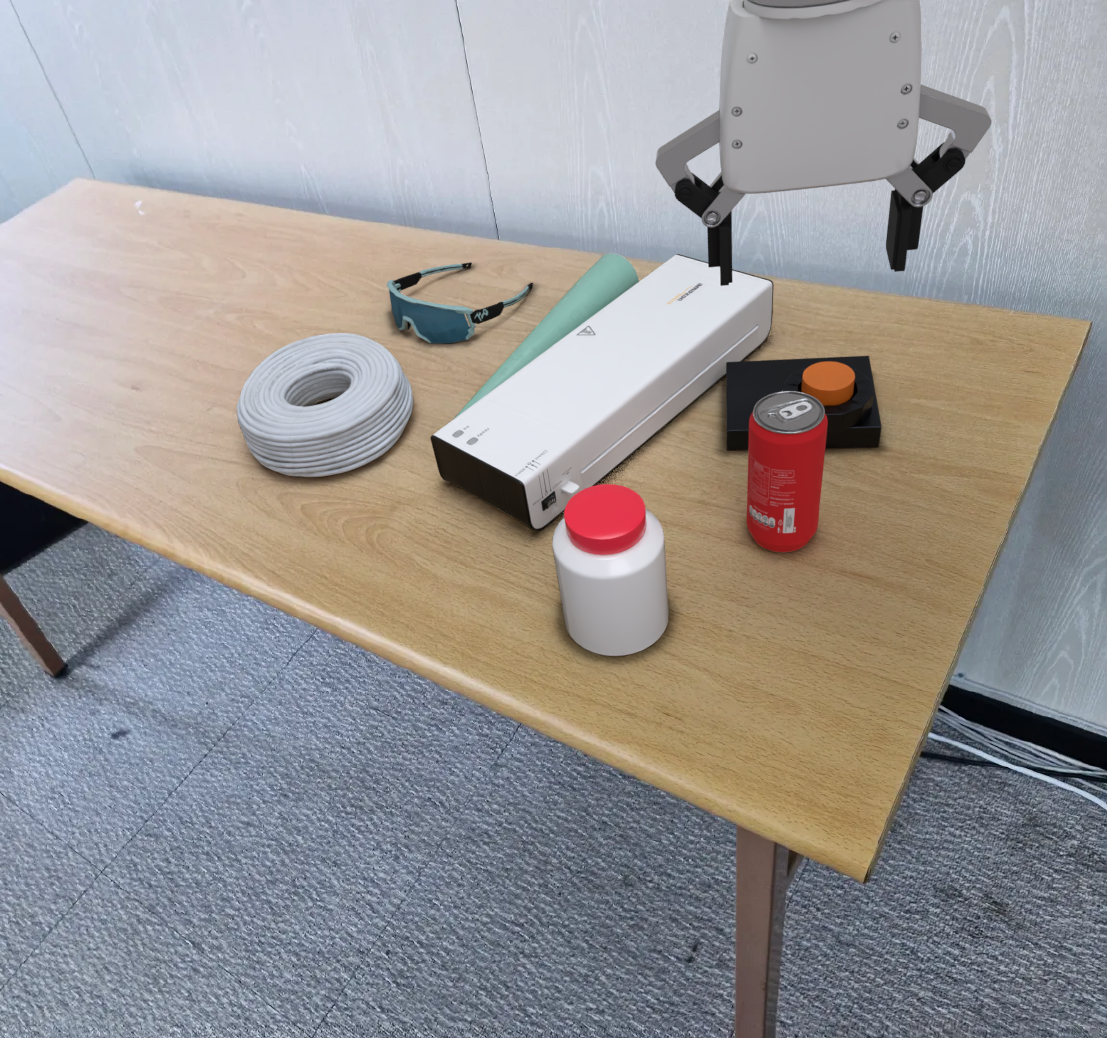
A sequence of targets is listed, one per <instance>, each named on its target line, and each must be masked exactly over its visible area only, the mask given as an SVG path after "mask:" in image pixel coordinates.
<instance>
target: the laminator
mask: <svg viewBox="0 0 1107 1038" xmlns="http://www.w3.org/2000/svg"><path fill="white" fill-rule="evenodd" d="M774 287H775V286H774V281H773V280H771V279H770V278H765V277H762V276H757V275H755V274H751V273H747V272H743V271H740V270H737V269H734V268H732V283H729V285H725V286H721V285H720V267H708V261H705V260H701V259H697V258H694V257H691V256H686V255H683V254H680V253H676V254H674V255H673V256H672V257H670V258H669V259H667V260H666V261H665V262H663V263H662V264H661V265H659V266H658V267H657V268H655V269H654V270H652V271H651V272H650V273H649V274H647V275H646V276H645V277H643V278H642V279H640V280H639V282H638V283H637V284H635V285H634V286H633V287H631V288H630V289H628V290H627V291H626V292H624V293H623V294H622V295H620V296H619V297H618V298H616V299H615V300H614V301H612V302H611V303H610V304H608V305H607V306H606V307H604V308H603V309H602V310H600V311H599V312H597V313H596V314H595V315H593V316H592V317H591V318H589V319H588V320H587V321H585V322H584V323H583V324H581V325H580V326H579V327H577V328H576V329H575V330H573V331H572V332H571V333H569V334H568V335H566V336H565V337H564V338H562V339H561V340H560V341H558V342H557V343H556V344H554V345H553V346H552V347H550V348H549V349H548V350H546V351H545V352H544V353H542V354H541V355H540V356H538V357H537V358H535V359H534V360H533V361H531V362H530V363H529V364H527V365H526V366H525V367H523V368H522V369H521V370H519V371H518V372H517V373H515V374H514V375H513V376H511V377H510V378H509V379H507V380H506V381H504V382H503V383H502V384H500V385H499V386H498V387H496V388H495V389H494V390H492V391H491V392H490V393H488V394H487V395H486V396H484V397H483V398H482V399H480V400H479V401H478V402H476V403H475V404H473V405H472V406H471V407H469V408H468V409H467V410H465V411H464V412H463V413H461V414H460V415H459V416H457V417H456V416H455V417H456V418H455V417H454V418H455V419H454V418H453V419H452V420H451V421H449V422H448V423H446V424H445V425H444V426H442V427H441V428H440V429H438V430H437V431H436V432H434V433H433V434H431V435H430V436H429V437H430V443H431V447H432V451H433V454H434V458H435V462H436V466H437V469H438V473H439V476H440V478H441V479H442V480H443V481H445V482H449V483H451V484H453V485H454V486H456V487H458V488H460V489H462V490H463V491H465V492H467V493H468V494H470V495H472V496H473V497H476V498H477V499H479V500H481V501H483V502H485V503H486V504H488V505H490V506H492V507H494V508H495V509H497V510H499V511H500V512H502V513H503V514H505V515H508V516H509V517H511V518H513V519H515V521H518V522H520V523H522V524H523V525H525V526H527V527H528V528H529V529H531V530H532V531H533V532H539V531H542V530H543V529H545V528H546V527H548V526H549V525H550V524H552V522H554V521H555V520H556V519H557V518H559V517H560V516H561V515H562V514H564V511H565V507H566V505H567V503H568V501H569V500H570V499H571V498H572V497H573V496H574V495H575V494H577V493H578V492H580V491H582V490H584V489H586V488H589V487H591V486H596V485H598V484H599V483H601V482H602V480H604V479H605V478H606V477H607V476H608V475H610V474H611V473H612V472H613V471H614V470H615V469H616V468H618V467H619V466H620V465H622V463H624V462H625V461H626V460H627V459H629V457H631V456H633V454H635V453H636V452H637V451H638V450H639V449H640V448H642V446H644V445H645V444H646V443H648V442H649V441H650V440H651V439H652V438H653V437H655V436H656V435H657V434H658V433H659V432H661V431H662V430H663V429H664V428H665V427H666V426H668V425H669V424H670V423H671V422H672V421H673V420H674V419H677V417H679V415H680V414H682V413H684V411H685V410H686V409H688V408H689V407H690V406H691V405H693V403H695V402H696V401H697V400H699V398H701V397H702V396H703V395H704V394H705V393H707V392H708V391H709V390H710V389H711V388H713V387H714V386H715V385H716V384H717V383H719V382H720V381H721V380H722V379H723V378H724V377H726V363H727V362H738V361H745V360H746V359H747V358H748V357H749V356H751V355H752V354H753V353H754V352H755V351H756V350H758V349H760V347H761V346H762V345H763V344H764V343H765V342H766V341H767V339H768V338H769V335H770V334H771V330H772V326H773V315H774V314H773V312H774V311H773V310H774V289H775V288H774Z"/></svg>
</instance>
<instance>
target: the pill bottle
mask: <svg viewBox="0 0 1107 1038" xmlns="http://www.w3.org/2000/svg"><path fill="white" fill-rule="evenodd" d="M551 540H552V541H551V543H552V545H551V548H552V554H553V560H554V567H555V573H556V577H557V586H558V590H559V596H560V603H561V609H562V615H563V621H564V624H565V629H566V631H567V633H568V635H569V636H570V638H571V639H572V640H573V641H574V642H575V643H576V644H577V645H579V646H580V647H581V648H582V649H585V650H587V651H589V652H591V653H594V654H598V655H602V656H610V657H618V656H619V657H620V656H622V657H623V656H626V655H633V654H636V653H639V652H641V651H643V650H646V649H647V648H649V647H650V646H652V645H653V644H655V643H656V642H657V641H658V640H659V639H660V638H661V636H662V635H663V634H664V633H665V631H666V628H667V627H668V623H669V617H670V613H669V595H668V594H669V593H668V578H667V576H668V575H667V559H666V558H667V557H666V541H665V540H666V539H665V533H664V529H663V526H662V524H661V521H659V519H658V517H657V516H656V515H655V514H653V512H651V511H650V510H649V509H648V508H646V504H645V501H644V499H643V498H642V496H641V495H640V494H639V493H638V492H637V491H635V490H633V489H632V488H629V487H626V486H624V485H620V484H614V483H604V484H596V485H595V486H591V487H589V488H586V489H584V490H582V491H580V492H578V493H577V494H575V495H574V496H573V497H572V498H571V499H570V500H569V501H568V503H567V505H566V507H565V511H564V512H563V518H562V519H561V520H560V521H559V522H558V524H557V526H556V527H555V529H554V532H553V536H552V538H551Z"/></svg>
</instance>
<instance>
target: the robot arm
mask: <svg viewBox="0 0 1107 1038" xmlns="http://www.w3.org/2000/svg"><path fill="white" fill-rule="evenodd" d="M727 7H728V8H727V11H726V16H725V17H726V18H725V22H724V29H723V36H722V37H723V38H722V46H721V58H720V75H719V102H718V103H719V104H718V106H719V108H718V110H717V111H715V112H714V113H711V114H710V115H709V116H707V117H706V118H704V119H703V120H701V121H699V122H698V123H696V124H695V125H693V126H692V127H690V128H688V129H687V130H685V131H684V132H682V133H680V134H678V135H677V136H676V137H674V138H673V139H671V140H669V141H668V142H666V143H665V144H663V145H661V146H660V147H659V148H658V149H657V150H656V153H655V154H656V155H655V167H656V169H657V170H658V172H659V173H660V175H661V176H662V178H663V179H664V181H665V183H666V184H667V186H668V187H670V189H671V190H672V192H673V193H674V197H675V199H676V200H677V201H678V202H679V203H680V204H681V205H683V206H684V207H686V208H687V209H688V210H689V211H691V212H692V213H694V214H695V216H697V217H699V218H700V219H701V222H702V224H703V226H705V227H706V229H707V230H706V232H707V262H708V267H720V285H721V286H725V285H729V283H732V269H733V214H732V213H733V212H732V211H733V210H734V208H735V207H736V206H737V205H738V203H740V201H741V200H742V199H743V198H744V197H745V195H756V194H757V195H758V194H771V193H779V192H789V191H799V190H800V191H801V190H808V189H809V190H810V189H818V188H827V187H835V186H845V185H854V184H862V183H870V182H876V181H882V180H886V181H887V183H889V184H890V185H891V186H892V188H894V190H891V192H890V198H889V199H890V200H889V209H888V219H887V228H886V229H887V230H886V237H885V239H886V240H885V251H886V255H887V260H888V263H889V266H890V267H889V268H890V270H891V271H894V273H896V272H905V270H906V264H907V258H908V257H907V256H908V255H907V254H908V251H916V250H918V249H919V244H920V236H921V229H922V221H923V213H924V207H925V206H926V205H928V204H929V203H930V202H931V201H932V200H933V197H934V193H936V192H937V191H938V190H940V188H941V187H942V186H944V185H945V184H946V183H947V182H949V180H951V179H952V178H953V177H954V176H955V175H957V174H958V173H959V172H961V171H962V169H963V168H964V166H966V160H967V158H968V157H969V155H970V154H972V153H973V152H974V151H975V149H976V148H977V146H978V145H979V143H980V142H981V140H982V139H983V138H984V137H985V135H986V134H987V132H988V131H989V129H990V127H991V125H992V119H991V117H990V114H989V112H988V110H987V109H986V107H984V106H982V105H980V104H977V103H974V102H971V101H969V100H965V99H963V98H960V97H957V96H954V95H952V94H950V93H949V94H948V93H947V92H943V91H940V90H939V89H935V88H932V87H929V86H926V85H923V84H921V81H922V50H923V49H922V20H921V19H922V12H921V11H922V10H921V0H729V3H728V6H727ZM920 119H921V120H924V121H926V122H929V123H932V124H935V125H938V126H941V127H944V128H946V129H949V130H950V131H949V133H948V135H947V138H946V139H945V141H944V142H942V143H940V145H938V146H937V147H936V148H935V149H934V150H933V151H931V152H930V153H929V154H928V155H927V156H926V157H925V158H924V159H922V161H920V162H919V161H918V160H917V159H916V157H915V154H916V149H917V144H918V143H917V141H918V134H919V122H920ZM717 144H718V146H719V148H718V149H719V167H720V172H719V173H718V175H717V176H716V178H715V179H714V180H713V181H712V182H711V183H710V185H709V184H707V183H706V182H705V181H704V180H703V179H701V178H700V177H699V176H697V175H696V174H695V173H693V172H692V171H691V170H690V168H689V166H688V162H690V161H692V160H693V159H694V158H696V157H698V156H699V155H701V154H703V153H704V152H706V151H707V150H709V149H711V148H712V147H714V146H716V145H717Z"/></svg>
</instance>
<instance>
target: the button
mask: <svg viewBox="0 0 1107 1038" xmlns="http://www.w3.org/2000/svg"><path fill="white" fill-rule="evenodd" d="M854 382H855V373H854V371H853V370H852V369H851V368H850V367H849V366H847V365H845V364H842V363H839V362H831V361H826V362H819V363H815V364H813V365H811V366H809V367H808V368H806V369H805V371H804V372H803V376H802V390H801V392H802V393H805V394H808V395H811V396H813V397H815V398H816V399H818V400H819V401H820V402H821V403H822V405H823V406H833V405H840V404H843V403H845V402H847V401H849V400H850V399H851V397H852V395H853V390H854Z"/></svg>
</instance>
